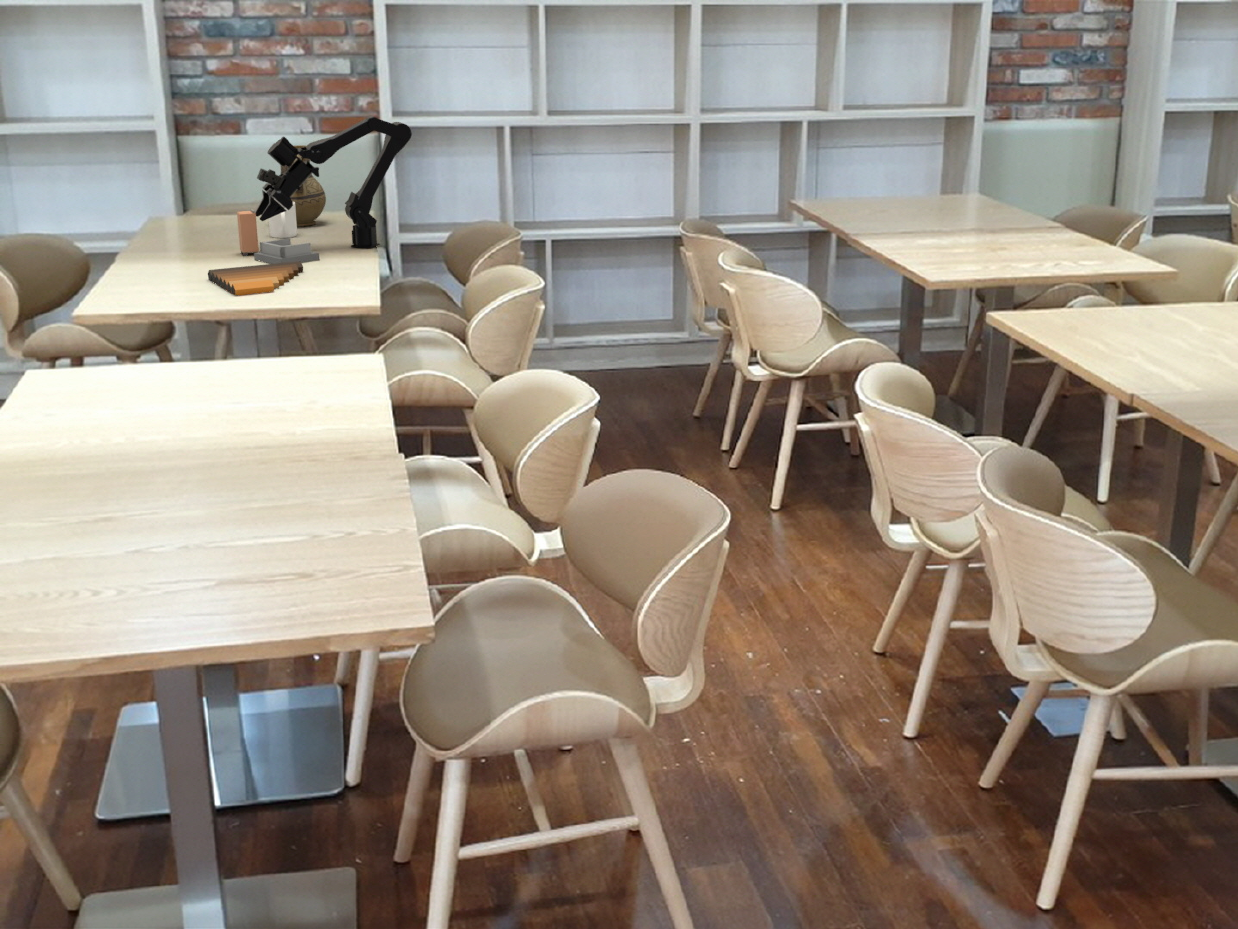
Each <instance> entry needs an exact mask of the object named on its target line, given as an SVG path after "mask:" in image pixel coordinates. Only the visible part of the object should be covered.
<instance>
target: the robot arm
mask: <svg viewBox="0 0 1238 929" xmlns="http://www.w3.org/2000/svg"><path fill="white" fill-rule="evenodd" d="M372 132H378V133H380V134H384V140H383V145H382V149H381V151H380V153H379V154H378V155H377V158H376V160H375V162H374V164H373V165H372V167H371V169H370V171H369V173H368V174H367V177H366V179H365V180H364V182H363V184H362V186H361V188H360V189H359V190H358V191H356V193H355V192H353V191H351V192H350V194H349V197H348V199H347V200H346V201H345V202H344V204H345V208H344V213H345V215H346V216H347V218H349V219H350V220H351V221H352V223H353V224H354V225H352V230H351V239H352V240H351V241H352V244H351V245H350V247H351V248H361V249H372V248H374V247H377V246H380V245H381V243H380V242H378V237H377V235H378V234H377V219H376V218H375V217H373V215H371V214H370V212H371V210H372V205H373V200H374V197H375V194H376V193H377V191H378V188H379V187H380V185H381V183H382V182H383V179H384V177H385V176H386V174H387V172H388V170H389V169H390V167H391V165H392V163H393V161H394V159H395V158H396V156H397V154H398V153H399V152H400V151H401V150H403V148H404V147H405V146H406V145H407V144H408V143H409V141H411V138H412V135H413V133H412V130H411V127H410V126H409V125H407V124H406V123H403V122H400V121H393V122H389V121H386V120H383V119H379V118H378V117H376V116H374V115H369V116H366V117H365V119H362V120H361V121H359V122H357V123H355V124H353V125H351V126H349V127H348V128H345V129H344V130H341V131H340V132H338V133H336V134H335V135H332V136H330V137H326V138H322V139H317V140H316V141H310V143H308V144H307V145H305V146H306V147H302V148H297V149H296V148H295V147H294V146H295V145H293V143H291V142H290V141H289V139H287V137H286V136H281V138H280V139H279V140H277V141H276V142H274V143H273V144H272V145H271V146H270V147H269V149H268V150H267V155H269V156H270V157H271V158H272V159H273V160H274V161H275V162H276V163H278V164H279V165H280V167H281V166H282V167H283V166H285V165H286V166H287V167H288V166H290V165H291V164H292V163H293V162H294V161H295V159H297V160H296V161H295V162H294V163H293V164H292V166H291V167H290V168H289V169H288V170H287V171H288V172H287V171H286V172H285V173H281V172H280V174H276V171H275V170H273V169H270V168H269V169H268V170H267V169H264V168H262V167H261V168H260V169H259V171H258V174H257V177H256V179H257V180H259V181H261V182H265V184H264V185H263V186H262V189H261V192H262V199H261V201H260V202H259V205H258V207H257V208H256V211H255V213H256V218H257V217H259V216H260V217H259V220H260V221H261V222H265V221H267V220H269V218H271V217H273V216H275V215H278V214H280V213H282V212H286V211H287V210H290V208H291V207H292V206H293V201H292V200H291V198H290V197H291V196H292V195H293V194H294V193H295V192H296V191H297V190H298V191H299V190H300V189H301V188H300V186H301V185H302V184H303V183H304V182H305V181H306V180H307V179H308V177H309V176H310V175H311V174H312V175H314V177H317V178H319V177H320V168H319V166H314V165H313V164H316V165H321V164H324V163H326V161H328V160H330V158H331V157H333V156H334V155H335V154H336V153H337V152H338V151H339V150H341V149H343V148H344V147H346V146H348V145H351V143H353V142H355V141H357V140H359V139H361V138H362V137H364V136H368V135H369V134H371V133H372ZM297 155H299V156H301V157H303V158H306V159H309V160H310V163H309V162H308V161H305V162H303V161H302V160H301V159H300V158H299V157H297ZM311 162H312V163H313V164H312V163H311ZM285 208H286V209H287V210H285Z"/></svg>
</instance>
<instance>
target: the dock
mask: <svg viewBox="0 0 1238 929" xmlns="http://www.w3.org/2000/svg"><path fill="white" fill-rule="evenodd" d="M259 249H260V251H259V252H258V253H254V254H253V257H254V261H256V260H260V261H259V262H261V261H263V262H262V263H265V262H267V263H266V264H269V263H270V264H276V263H286V262H297V261H301V263H302V264H303V263H308V262H309V263H310V262H314V261H315V262H316V261H320V253H319V252H317V251H312V246H311V242H309V241H308V242H302V243H301V242H300V243H295V244H291V238H279V239H273V240H267V241H260V242H259Z"/></svg>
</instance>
